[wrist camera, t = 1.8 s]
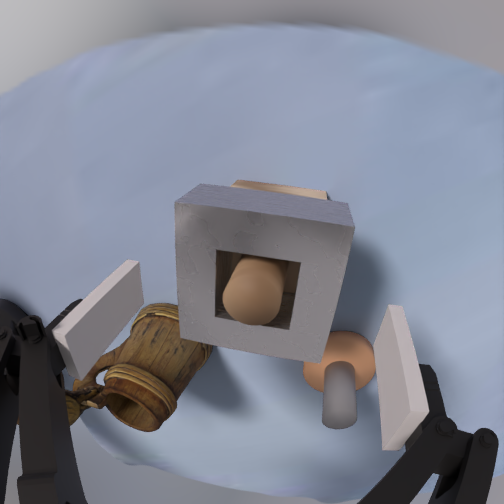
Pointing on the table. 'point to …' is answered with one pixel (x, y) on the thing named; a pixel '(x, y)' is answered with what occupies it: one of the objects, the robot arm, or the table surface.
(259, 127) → the table surface
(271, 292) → the stand
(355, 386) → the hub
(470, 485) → the robot arm
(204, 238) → the square metal nut
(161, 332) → the wooden mug
